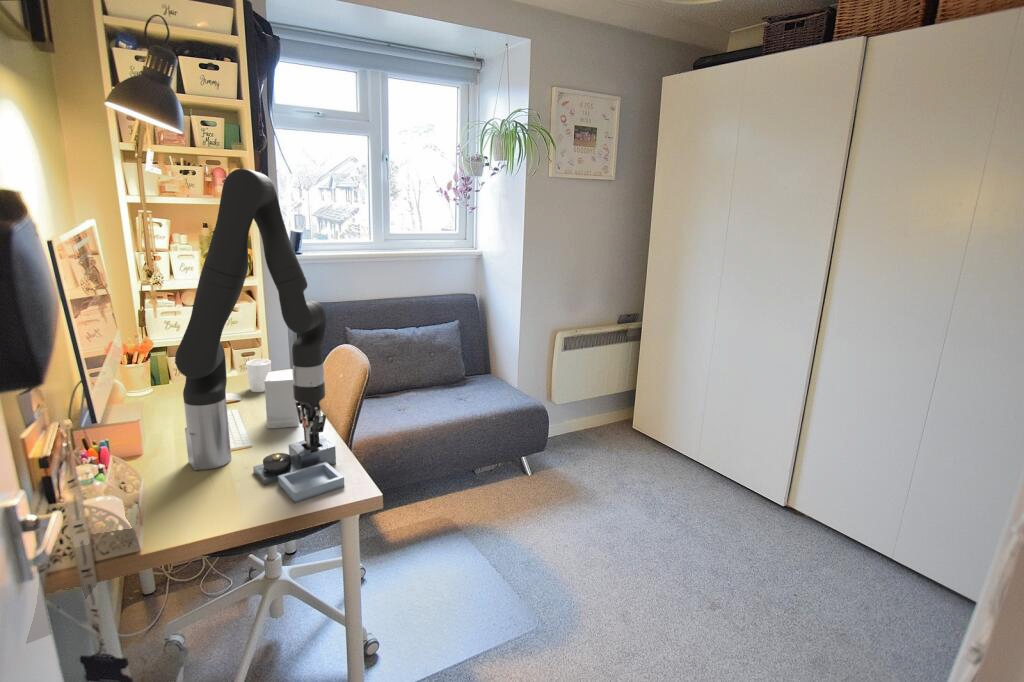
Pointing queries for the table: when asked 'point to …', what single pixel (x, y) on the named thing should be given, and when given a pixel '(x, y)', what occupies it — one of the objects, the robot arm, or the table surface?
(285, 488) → the parts tray
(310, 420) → the pin
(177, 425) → the table surface
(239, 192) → the robot arm
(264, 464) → the block
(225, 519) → the table surface
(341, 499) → the table surface
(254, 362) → the white cup
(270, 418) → the supplement box
